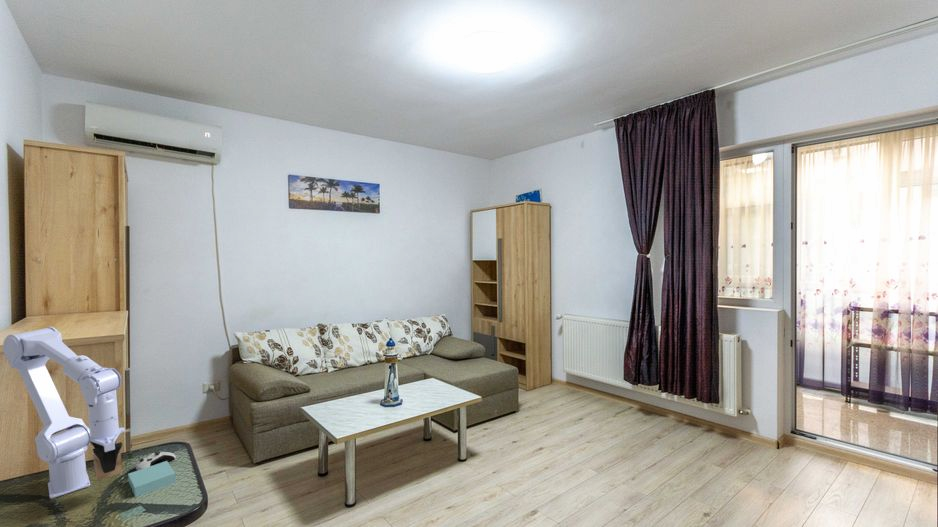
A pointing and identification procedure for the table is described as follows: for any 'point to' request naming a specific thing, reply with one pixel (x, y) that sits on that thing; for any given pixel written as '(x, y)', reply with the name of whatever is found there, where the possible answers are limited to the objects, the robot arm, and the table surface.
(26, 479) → the table surface
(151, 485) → the teal box
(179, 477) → the table surface
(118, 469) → the walnut cube
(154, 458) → the game controller
